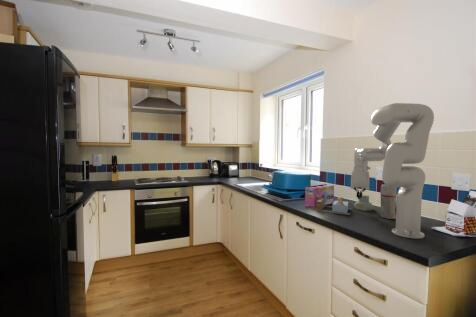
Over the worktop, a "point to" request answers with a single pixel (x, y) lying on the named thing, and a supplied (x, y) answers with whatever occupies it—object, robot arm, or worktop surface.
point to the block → (340, 207)
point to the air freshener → (364, 204)
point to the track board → (334, 211)
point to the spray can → (388, 202)
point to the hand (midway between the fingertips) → (359, 198)
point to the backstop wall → (320, 204)
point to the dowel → (340, 200)
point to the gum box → (319, 194)
